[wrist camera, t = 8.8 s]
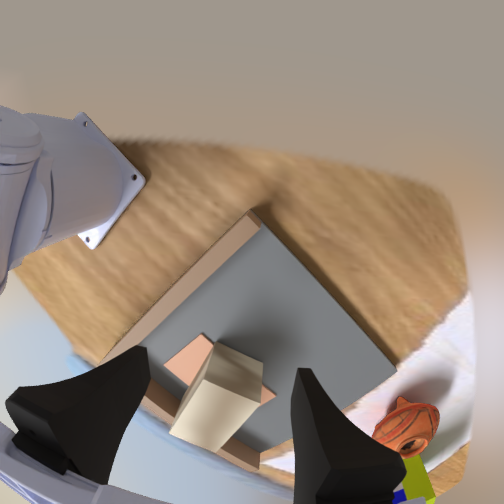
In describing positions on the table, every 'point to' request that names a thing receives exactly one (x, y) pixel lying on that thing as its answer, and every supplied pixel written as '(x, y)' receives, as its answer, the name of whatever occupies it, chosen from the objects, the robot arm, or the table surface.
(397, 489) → the puzzle toy
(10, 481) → the robot arm
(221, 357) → the birch block
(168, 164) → the table surface
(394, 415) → the pot
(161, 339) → the tray
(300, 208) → the table surface
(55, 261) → the table surface
